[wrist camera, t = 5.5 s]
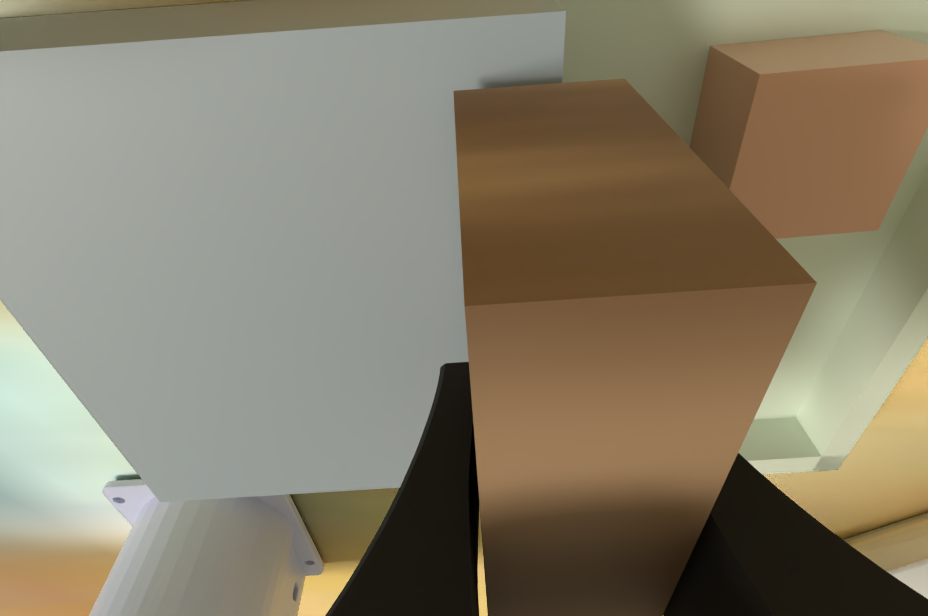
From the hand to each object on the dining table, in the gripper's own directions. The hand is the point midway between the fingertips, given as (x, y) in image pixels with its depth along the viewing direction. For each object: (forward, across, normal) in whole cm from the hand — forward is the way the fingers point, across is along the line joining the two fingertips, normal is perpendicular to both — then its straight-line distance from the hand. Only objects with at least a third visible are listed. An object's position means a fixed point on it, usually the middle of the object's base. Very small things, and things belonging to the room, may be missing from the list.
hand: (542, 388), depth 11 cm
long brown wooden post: (+2, 0, 0) cm, 2 cm away
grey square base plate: (+6, +6, 0) cm, 9 cm away
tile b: (+3, -7, -4) cm, 8 cm away
